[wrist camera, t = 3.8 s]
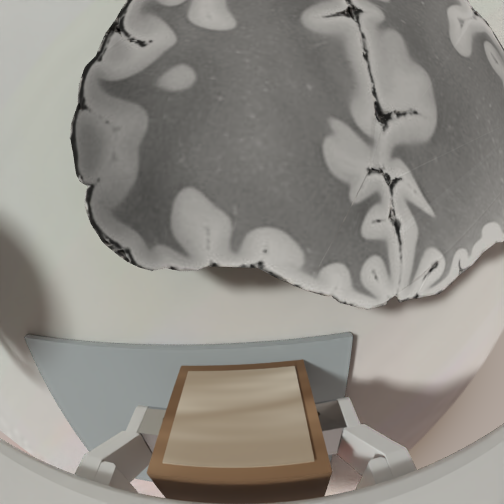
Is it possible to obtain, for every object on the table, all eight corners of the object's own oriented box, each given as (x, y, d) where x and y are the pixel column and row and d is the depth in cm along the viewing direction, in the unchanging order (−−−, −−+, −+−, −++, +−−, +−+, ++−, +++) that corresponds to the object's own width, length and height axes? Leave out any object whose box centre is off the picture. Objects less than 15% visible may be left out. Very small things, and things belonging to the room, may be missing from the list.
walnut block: (180, 364, 12) (145, 472, 6) (303, 358, 12) (332, 470, 6) (190, 398, 12) (166, 499, 6) (302, 393, 12) (323, 497, 6)
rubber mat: (27, 334, 12) (24, 337, 12) (350, 331, 12) (353, 336, 11) (106, 467, 16) (105, 471, 15) (324, 477, 15) (325, 480, 15)
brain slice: (448, -13, 7) (471, -31, 4) (500, 249, 11) (534, 263, 8) (113, -17, 7) (91, -44, 5) (139, 303, 12) (112, 336, 9)
